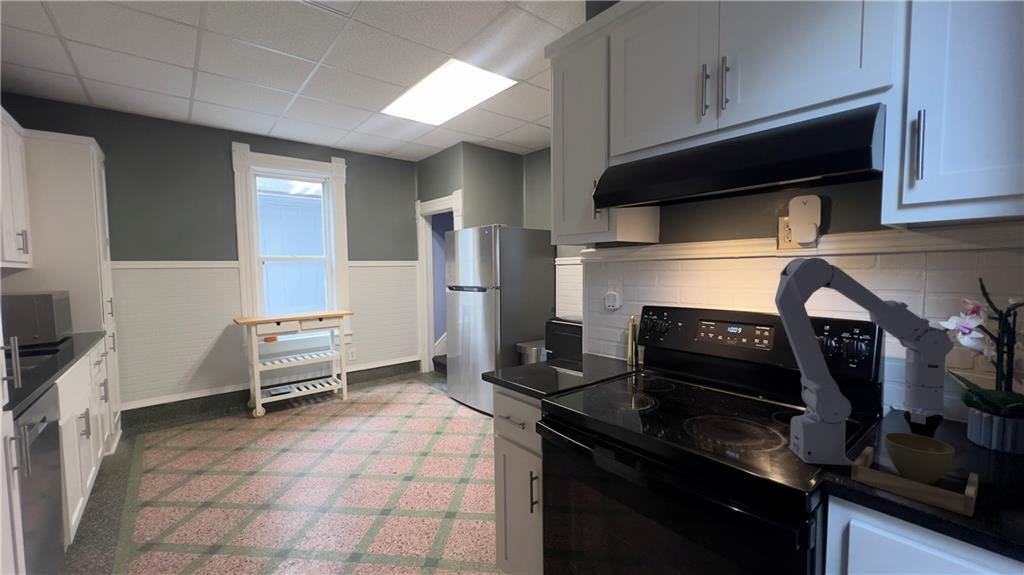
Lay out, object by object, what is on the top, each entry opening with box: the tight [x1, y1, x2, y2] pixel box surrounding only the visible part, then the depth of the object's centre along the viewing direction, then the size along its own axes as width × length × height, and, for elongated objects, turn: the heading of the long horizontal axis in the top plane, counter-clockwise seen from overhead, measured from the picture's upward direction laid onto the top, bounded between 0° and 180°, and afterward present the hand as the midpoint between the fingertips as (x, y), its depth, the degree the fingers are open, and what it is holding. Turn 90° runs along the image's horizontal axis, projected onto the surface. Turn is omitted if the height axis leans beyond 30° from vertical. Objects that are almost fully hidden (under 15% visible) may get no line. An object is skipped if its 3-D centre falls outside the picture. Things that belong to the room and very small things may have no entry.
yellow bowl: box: [883, 431, 956, 485], centre depth 82 cm, size 10×10×7 cm
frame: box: [850, 446, 979, 518], centre depth 80 cm, size 13×16×3 cm
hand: (922, 448), depth 86 cm, fingers closed
